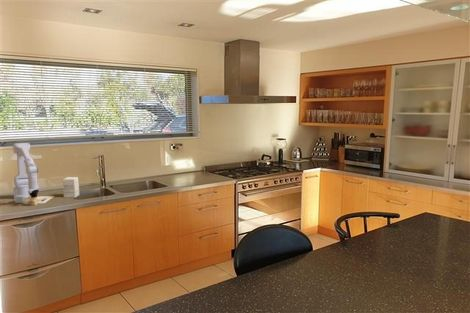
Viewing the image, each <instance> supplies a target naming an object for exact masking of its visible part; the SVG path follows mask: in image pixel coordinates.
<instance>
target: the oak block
mask: <svg viewBox="0 0 470 313" xmlns="http://www.w3.org/2000/svg"><path fill="white" fill-rule="evenodd" d="M37 197H38V196H37ZM37 197H31V196H30V197H28V198H26V199H25V200H26V201H24V203H25V202H26V204H25V205H26V206H37V205H38V204H39V203H38V198H37Z"/></svg>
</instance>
